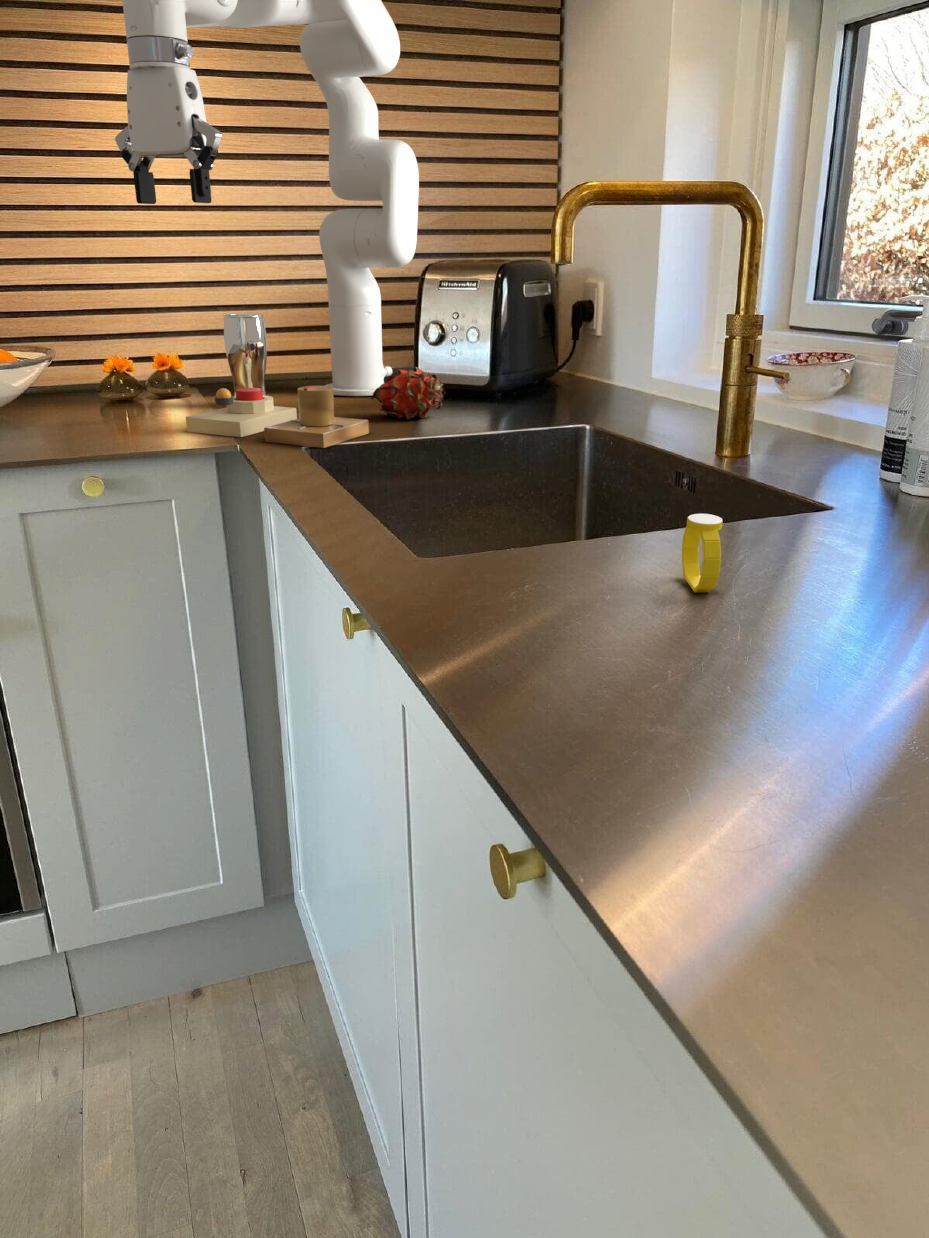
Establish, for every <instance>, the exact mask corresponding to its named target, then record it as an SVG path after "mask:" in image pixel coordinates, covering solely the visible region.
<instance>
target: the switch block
mask: <svg viewBox="0 0 929 1238" xmlns="http://www.w3.org/2000/svg"><path fill="white" fill-rule="evenodd" d="M232 397H233V404H232V405H226V407H223V408H219V409H214V410H210V411H209V410H208V411H206V412H205V411H204V412H202V413H197V414H192V415H188V416H185V423H186V431H187V432H189V433H190V432H191V433H198V434H207V435H216V436H225V437H233V438H234V437H235V438H243V437H247V436H251V435H254V434H258V433H262V432H264V428H265V427H269V426H273V425H276V424H280V423H284V422H288V421H290V420H295V419H298V413H297V407H292V406H291V407H289V406H278V405H274V404H275V403H274V397H273V396H270V395H267V396H264V395H263V399H262V400H255V401H239V400H236V396H234V395H233V396H232Z"/></svg>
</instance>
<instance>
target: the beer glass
mask: <svg viewBox="0 0 929 1238" xmlns="http://www.w3.org/2000/svg"><path fill="white" fill-rule="evenodd" d="M264 316H265V315H264V313H226V314H223V339H224V341H223V342H224V347H225V348H224V349H225V355H226V359H227V363H228V367H229V370H230V374H231V378H232V384H233V397H234V396H236V389H240V388H261V389H262V392H263V395H264V396H268V394H267V390H266V370H267V360H268V359H267V358H268V338H267V330H266V323H265V317H264Z"/></svg>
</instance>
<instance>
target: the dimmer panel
mask: <svg viewBox="0 0 929 1238" xmlns="http://www.w3.org/2000/svg"><path fill="white" fill-rule="evenodd" d="M334 418H335V423H334V424H332V425H328V426H304V425H301V424H300V419H299V418H297V419H295V420H290V421H288V422H284V423H280V424H276V425H273V426H269V427H265V428H264V431H263V432H264V434H263V435H264V442H266V443H273V444H274V443H275V444H283V445H290V446H291V445H292V446H293V445H294V446H300V447H301V446H303V447H311V448H319V449H325V448H329V447H331V446H335V445H338V444H340V443H344V442H347V441H349V440H353V439H356V438H359V437H362V436H365V435H368V434H369V433H370V425H369V423H370V422H369V420H368V419H362V418H349V417H342V416H341V417H340V416H334Z"/></svg>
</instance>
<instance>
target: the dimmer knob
mask: <svg viewBox="0 0 929 1238" xmlns="http://www.w3.org/2000/svg"><path fill="white" fill-rule="evenodd" d="M297 397H298V398H297V401H298V416H299V418H298V419H300V424H301V425H304V426H328V425H332V424H334V423H335V418H334V417H335V401H334V400H335V398H334V395H333V388H332V387H329V386H325V385H305V386H300V387H298V388H297Z"/></svg>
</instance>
